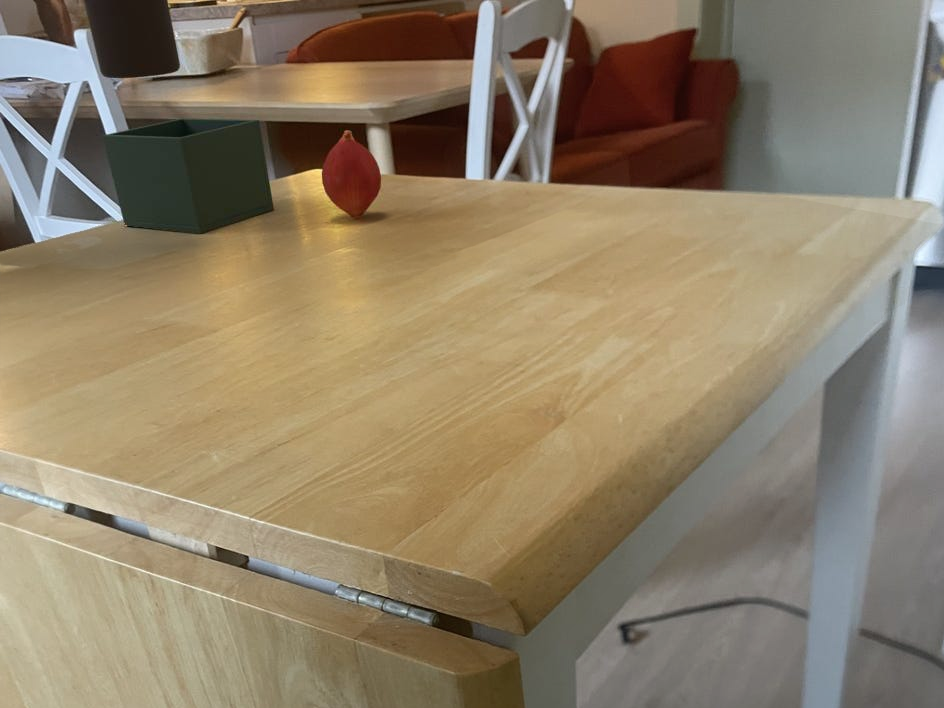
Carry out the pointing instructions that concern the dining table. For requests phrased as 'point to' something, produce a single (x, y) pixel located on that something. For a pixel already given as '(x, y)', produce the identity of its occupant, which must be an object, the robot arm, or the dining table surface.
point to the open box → (190, 173)
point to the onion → (351, 176)
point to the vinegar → (133, 37)
